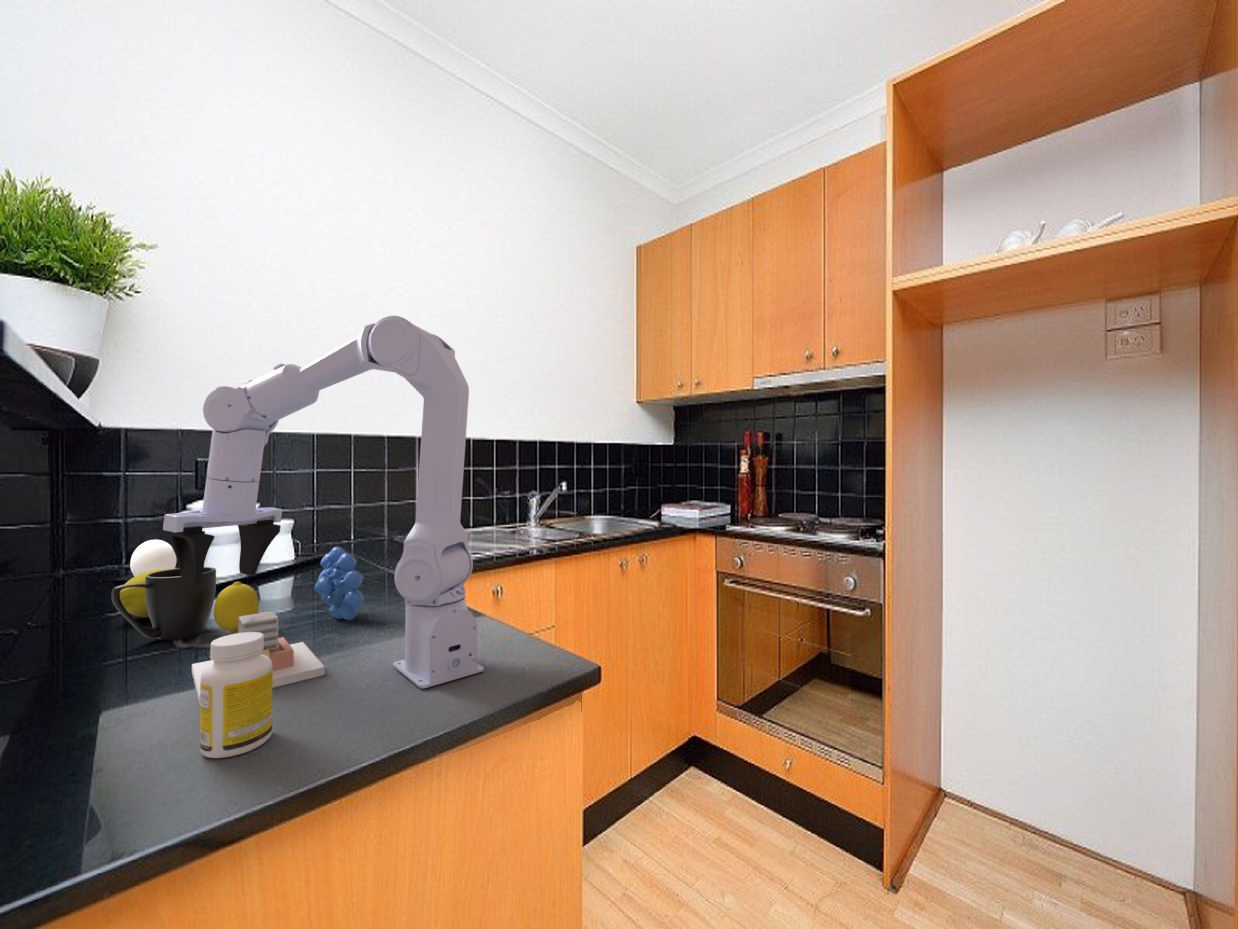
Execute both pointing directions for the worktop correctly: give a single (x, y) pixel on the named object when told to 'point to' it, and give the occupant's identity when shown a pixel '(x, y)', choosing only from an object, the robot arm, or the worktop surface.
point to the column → (262, 628)
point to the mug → (173, 604)
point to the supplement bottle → (236, 696)
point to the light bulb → (152, 557)
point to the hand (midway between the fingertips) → (220, 579)
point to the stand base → (279, 665)
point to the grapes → (340, 584)
